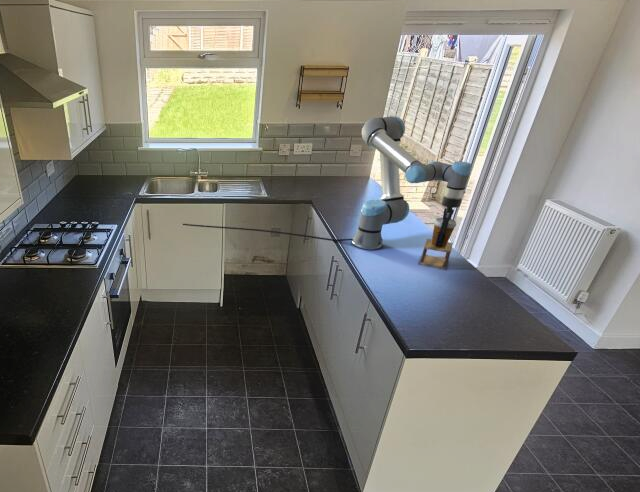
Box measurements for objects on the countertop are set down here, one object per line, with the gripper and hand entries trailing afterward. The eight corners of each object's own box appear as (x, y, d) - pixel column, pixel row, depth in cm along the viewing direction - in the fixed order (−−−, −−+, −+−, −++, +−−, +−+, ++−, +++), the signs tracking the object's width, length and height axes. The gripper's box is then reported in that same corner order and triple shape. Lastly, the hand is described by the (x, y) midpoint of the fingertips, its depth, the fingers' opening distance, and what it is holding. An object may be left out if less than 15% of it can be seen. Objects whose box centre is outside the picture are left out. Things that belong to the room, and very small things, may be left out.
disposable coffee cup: (437, 249, 205) (445, 225, 199) (423, 241, 213) (430, 218, 207) (454, 247, 207) (462, 223, 201) (439, 239, 215) (446, 216, 209)
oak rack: (419, 264, 213) (424, 246, 209) (422, 256, 222) (427, 238, 217) (445, 269, 208) (451, 250, 203) (447, 260, 217) (452, 242, 212)
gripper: (460, 204, 189) (446, 252, 200) (463, 192, 205) (449, 237, 216) (441, 202, 192) (428, 249, 204) (445, 190, 208) (432, 234, 220)
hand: (439, 243), depth 210 cm, fingers open, 9 cm apart
